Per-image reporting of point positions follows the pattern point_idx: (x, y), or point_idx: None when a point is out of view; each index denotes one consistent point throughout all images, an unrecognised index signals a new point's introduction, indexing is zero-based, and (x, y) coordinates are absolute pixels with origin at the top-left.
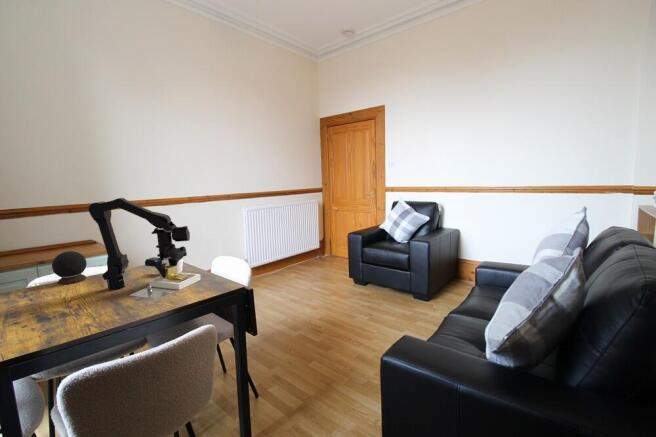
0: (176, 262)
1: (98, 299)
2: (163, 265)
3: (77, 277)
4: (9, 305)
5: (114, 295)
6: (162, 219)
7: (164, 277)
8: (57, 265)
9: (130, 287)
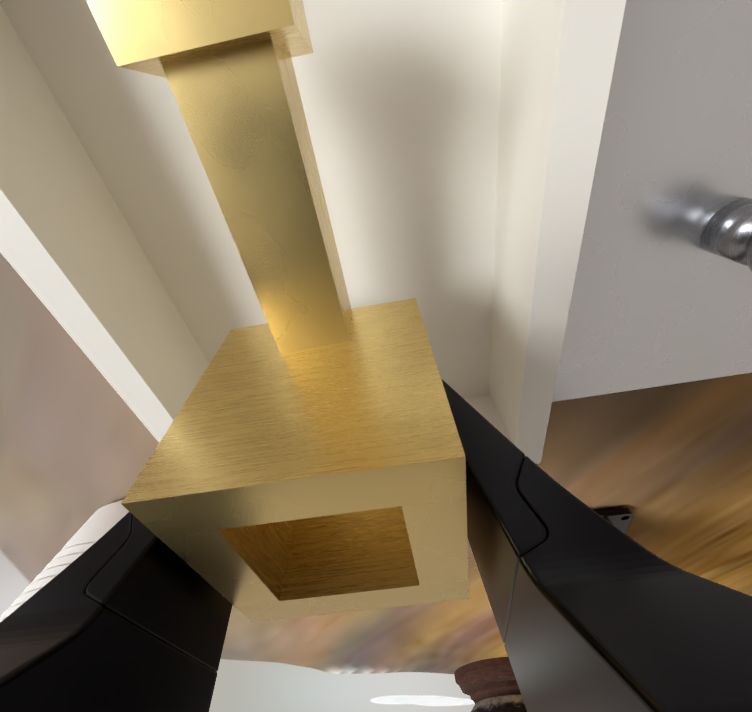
0: (41, 629)
1: (745, 489)
2: None
3: (504, 685)
4: None
5: (676, 475)
6: None
7: (443, 381)
8: None
9: None
